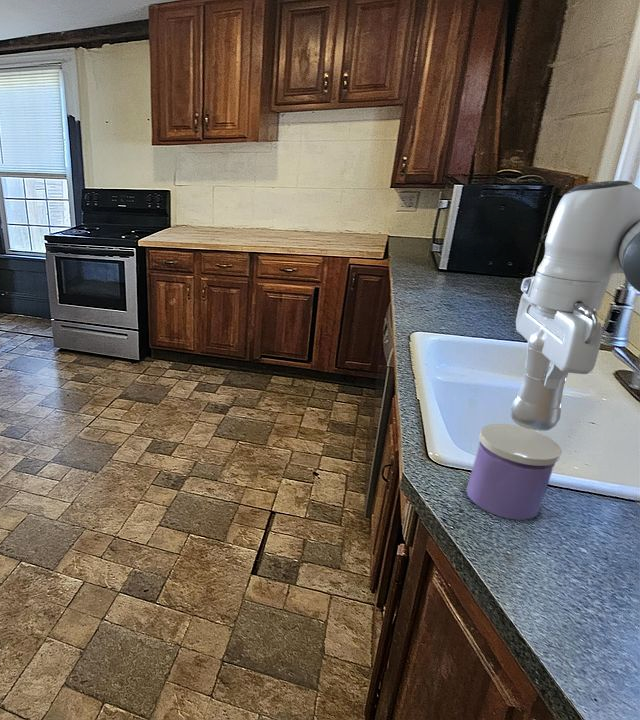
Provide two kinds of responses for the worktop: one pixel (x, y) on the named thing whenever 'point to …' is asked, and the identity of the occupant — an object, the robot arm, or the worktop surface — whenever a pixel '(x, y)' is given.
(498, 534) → the worktop surface
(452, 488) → the worktop surface
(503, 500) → the jar
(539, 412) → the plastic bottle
